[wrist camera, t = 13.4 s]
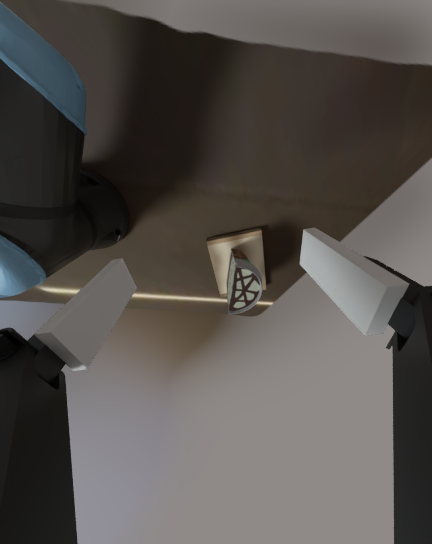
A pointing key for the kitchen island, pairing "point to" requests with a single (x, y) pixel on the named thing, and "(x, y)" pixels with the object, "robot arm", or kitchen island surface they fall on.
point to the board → (240, 241)
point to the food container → (242, 283)
